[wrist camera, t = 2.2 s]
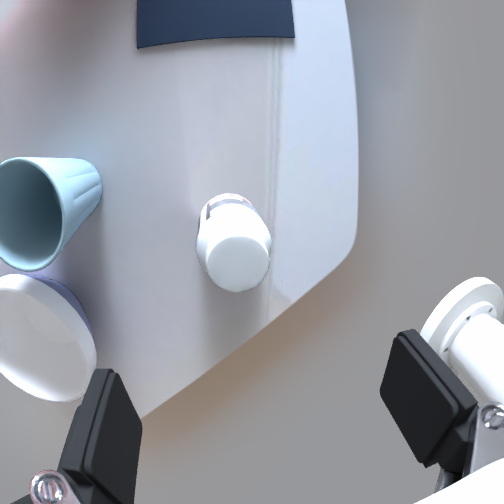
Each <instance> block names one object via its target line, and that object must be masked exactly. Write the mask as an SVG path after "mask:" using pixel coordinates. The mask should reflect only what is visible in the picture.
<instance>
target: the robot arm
mask: <svg viewBox="0 0 504 504" xmlns="http://www.w3.org/2000/svg"><path fill="white" fill-rule="evenodd" d="M455 371H457V372H458V373H459V374H460V375H461V376H462V377H463V378H464V380H465V381H466V382H467V383H468V384H469V386H470V387H471V388H472V389H473V390H474V392H475V393H476V394H477V395H478V396H479V398H480V399H481V400H482V401H483V402H484V404H482V405H481V406H480V408H479V406H478V405H477V404H478V402H477V400H476V399H475V398H474V397H473V395H472V394H471V393H470V392H469V391H468V389H467V388H466V387H465V386H464V385H463V383H462V382H461V381H460V380H459V379H458V377H457V376H456V375H455V374H454V373H453V372H455ZM380 395H381V398H382V400H383V401H384V403H385V405H386V406H387V408H388V410H389V411H390V413H391V415H392V417H393V419H394V420H395V422H396V424H397V425H398V427H399V429H400V431H401V432H402V434H403V436H404V438H405V439H406V441H407V443H408V445H409V446H410V448H411V450H412V452H413V453H414V455H415V457H416V459H417V461H418V462H419V463H423V465H424V466H425V468H427V467H429V466H431V465H433V464H436V463H437V462H438V463H439V465H440V467H441V469H440V473H439V476H438V480H437V484H436V488H435V491H434V494H433V495H431V496H429V497H427V498H425V499H423V500H421V501H419V502H417V503H415V504H504V325H502V324H501V323H500V322H498V321H497V312H496V309H495V307H494V306H493V305H492V304H490V303H489V302H486V301H485V302H479V303H476V304H474V305H473V306H471V307H469V308H468V309H467V310H465V311H464V312H463V313H462V314H461V315H460V316H459V317H458V318H457V319H456V321H455V322H454V323H453V324H452V326H451V327H450V328H449V330H448V331H447V333H446V334H445V336H444V338H443V340H442V342H441V345H440V347H439V350H438V354H437V353H436V352H435V351H434V350H433V349H432V348H431V346H430V345H429V344H428V343H427V342H426V341H425V340H424V339H423V338H422V336H421V335H420V334H419V333H418V332H417V331H416V330H415V329H410V330H406V331H402V332H399V333H398V334H397V337H396V338H394V340H393V344H392V348H391V352H390V356H389V360H388V363H387V367H386V370H385V374H384V377H383V381H382V384H381V387H380ZM141 437H142V423H141V420H140V418H139V416H138V414H137V412H136V410H135V408H134V406H133V404H132V402H131V400H130V398H129V396H128V393H127V391H126V389H125V387H124V385H123V382H122V380H121V378H120V375H119V374H118V373H115V372H114V371H113V370H112V369H95V370H94V372H93V374H92V377H91V380H90V382H89V385H88V388H87V390H86V393H85V396H84V399H83V401H82V404H81V405H80V406H79V407H78V408H77V410H76V412H75V415H74V418H73V421H72V424H71V427H70V430H69V433H68V436H67V439H66V442H65V445H64V448H63V452H62V455H61V458H60V462H59V466H58V469H57V471H54V470H44V471H41V472H39V473H37V474H36V475H35V476H34V477H33V478H32V480H31V483H30V486H29V492H30V494H28V495H26V496H25V497H23V498H21V499H19V500H17V501H15V502H13V503H11V504H134V495H135V486H136V475H137V467H138V459H139V451H140V444H141Z"/></svg>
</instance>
